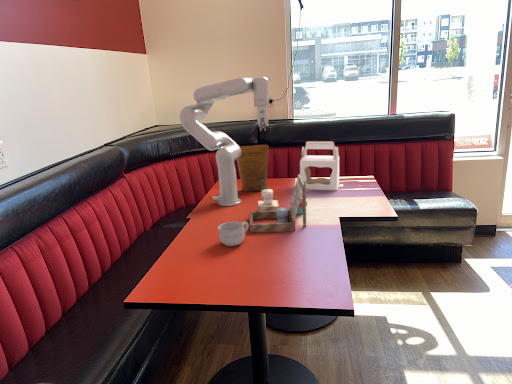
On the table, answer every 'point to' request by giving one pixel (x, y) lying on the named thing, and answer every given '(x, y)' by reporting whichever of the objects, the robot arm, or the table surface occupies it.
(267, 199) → the cream pot
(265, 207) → the stand
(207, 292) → the table surface
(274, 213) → the cold frame
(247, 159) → the pancake mix bag
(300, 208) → the cupcake
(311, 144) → the white carry box
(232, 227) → the teacup
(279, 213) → the blue pot
